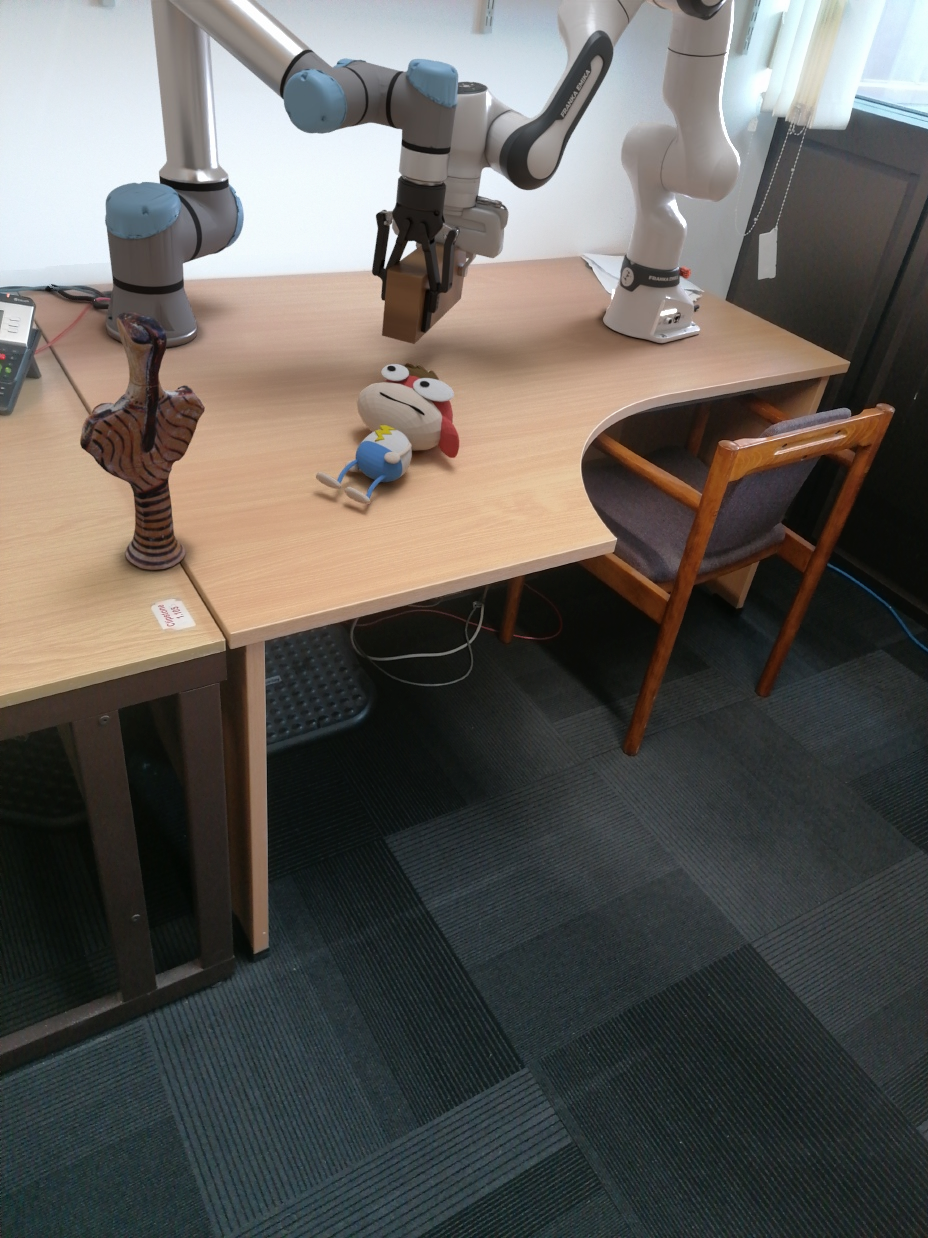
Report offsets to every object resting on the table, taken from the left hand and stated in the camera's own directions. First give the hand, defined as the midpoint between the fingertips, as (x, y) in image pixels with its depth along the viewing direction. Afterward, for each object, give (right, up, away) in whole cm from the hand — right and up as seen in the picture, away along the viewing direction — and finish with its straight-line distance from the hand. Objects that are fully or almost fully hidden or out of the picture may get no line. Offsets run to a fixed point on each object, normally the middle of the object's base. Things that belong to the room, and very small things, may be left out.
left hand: (407, 324), depth 151 cm
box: (+2, +4, +8) cm, 9 cm away
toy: (-2, -26, -17) cm, 31 cm away
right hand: (+6, +14, +11) cm, 19 cm away
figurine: (-28, -42, -43) cm, 67 cm away
